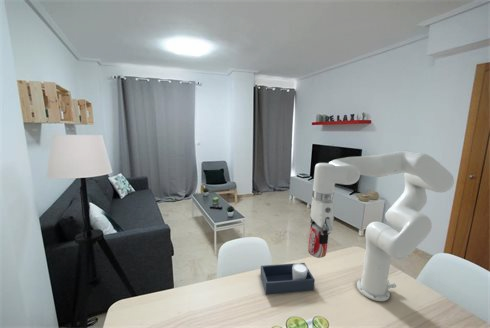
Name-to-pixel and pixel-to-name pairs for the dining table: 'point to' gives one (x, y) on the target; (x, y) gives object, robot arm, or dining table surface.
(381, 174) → the robot arm
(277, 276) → the bin
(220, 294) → the dining table surface
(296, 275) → the white cylinder
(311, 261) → the dining table surface
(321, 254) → the soda can
